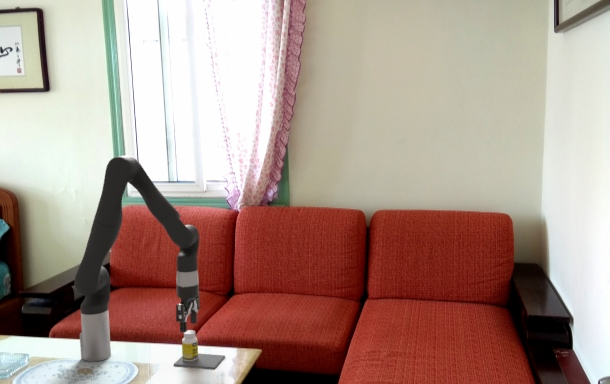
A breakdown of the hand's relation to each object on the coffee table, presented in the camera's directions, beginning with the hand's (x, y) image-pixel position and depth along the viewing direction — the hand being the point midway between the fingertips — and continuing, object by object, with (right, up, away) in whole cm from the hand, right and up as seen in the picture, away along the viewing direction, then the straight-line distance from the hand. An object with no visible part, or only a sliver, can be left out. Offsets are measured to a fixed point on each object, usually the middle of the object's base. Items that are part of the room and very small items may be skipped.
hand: (188, 327), depth 189 cm
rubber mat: (+4, -12, 0) cm, 13 cm away
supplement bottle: (0, -12, +1) cm, 12 cm away
